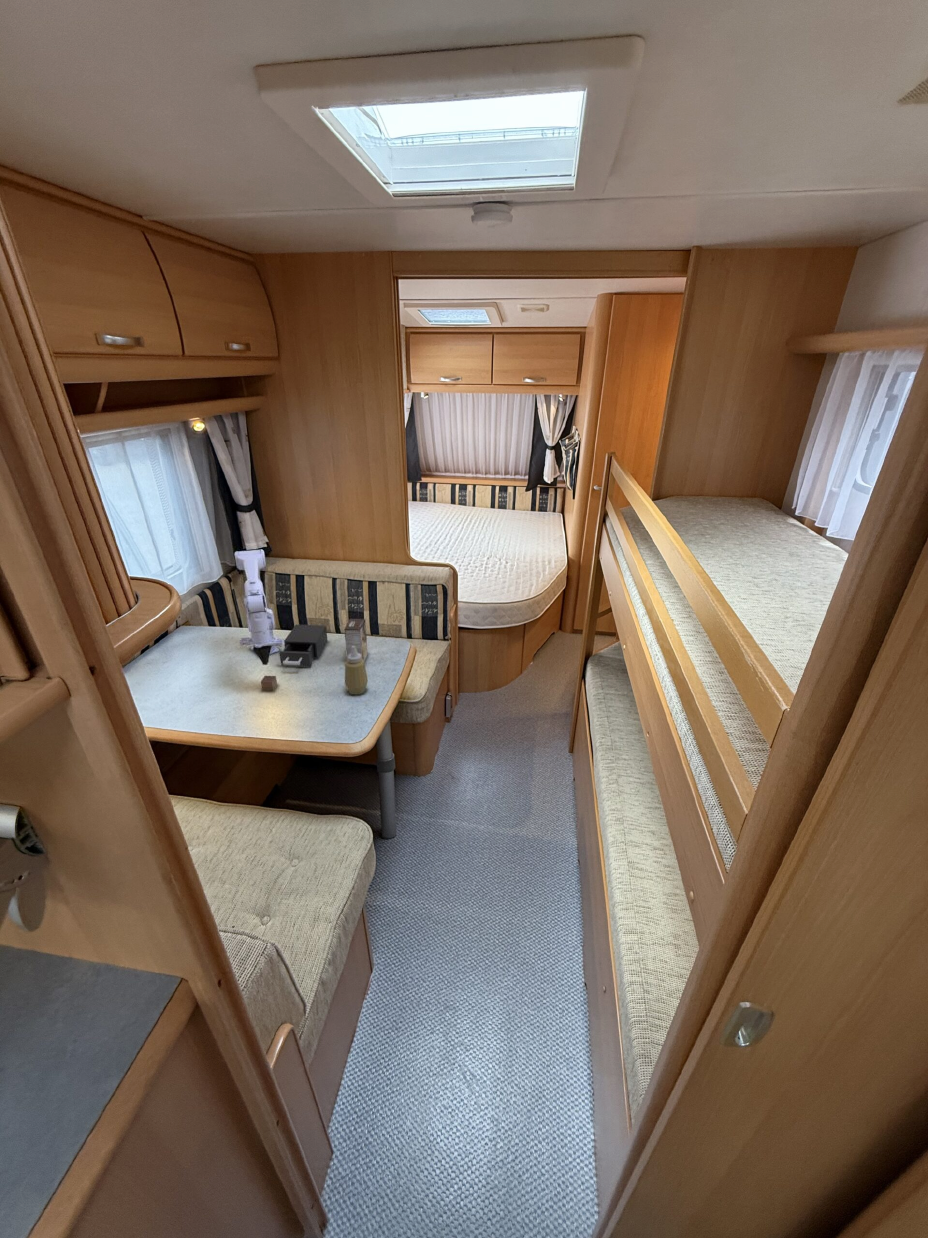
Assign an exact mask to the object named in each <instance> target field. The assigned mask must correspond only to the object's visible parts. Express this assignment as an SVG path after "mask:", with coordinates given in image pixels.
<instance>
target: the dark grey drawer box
mask: <svg viewBox="0 0 928 1238" xmlns="http://www.w3.org/2000/svg"><path fill="white" fill-rule="evenodd" d="M283 640H284V643H285V645H284V646H283V647H284V648H285V647H286V645H287V644H288V643H297V644H314V647H315V656H314V658H313V660H319V658H320V656H321V654H322V653H323V651H324V649H325V648H326V646H327V644H328V642H329V641H328V631H327V625H322V624H321V625H320V624H319V625H318V624H316V625H315V624H295V625H294V626H293V627H292V629H291V630H290V632H289V633H288V635H287V636H286V637H285V639H283Z"/></svg>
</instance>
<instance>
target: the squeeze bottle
mask: <svg viewBox="0 0 928 1238" xmlns="http://www.w3.org/2000/svg"><path fill="white" fill-rule="evenodd" d="M365 663H366V662H364V660H363V659H361V654H359V653H357V650H356V647H355V646H352V650H351V654H349V655H348V660H347V659H346V660H345V663H344V664H345V665H344V685H345V687H346V689H347V691H348V693H350V695H355V696H356V695H362V694H363V693H364V692H365V691H366V688H367V685H368V682H369V678H368V675H367V669H366V664H365Z"/></svg>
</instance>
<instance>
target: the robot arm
mask: <svg viewBox="0 0 928 1238" xmlns="http://www.w3.org/2000/svg"><path fill="white" fill-rule="evenodd" d="M234 559H235V565H236V569H238V570H239V571H244V572H245V576H246V581H245V582H244V583H243V584H244V585H243V586H244V595H245V597H244V598H243V599H244V600H243V602H244V609H245V612H246V622H247V627H248V631H249V632H250V637H241V638H240V639H239V645H240V647H241V646H251V647H250V649H251V651H252V652H254V653H255V654H256V655H257V656H258V658H259V660H260V661H261V664H262V665H263V666H266V665H268V664H269V663H270V655H271V654H275V653H277V652H280V649H279V648H284V647H285V646H284V645H285V643H284V640H285V639H282V638H281V639H280V638H277V637H274V630H275V629H276V622H275V615H274V611H273V610H272V609H270V608H268V603H267V597H266V595H265V591H264V585H263V582H262V580H261V575H260V571H261V569H263V568H265V567H266V566H267V562H266V555H265V551H264V550H263V549H254V550H241V551H238V550H237V551H235V552H234ZM278 647H279V648H278Z"/></svg>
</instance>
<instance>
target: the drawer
mask: <svg viewBox="0 0 928 1238" xmlns="http://www.w3.org/2000/svg"><path fill="white" fill-rule="evenodd" d="M278 652H279V653H278V654H279V658H280V659H279V660H280V666H282V667H283V666H285V667H308V668H309V667H310V668H311V667H312V665H313V664H312V661H313V660H314V659H313V658H314V656H315V647H314V644H297V643H288V644H287V645H286V647H285V646H284V647H283V650H279V651H278Z"/></svg>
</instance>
